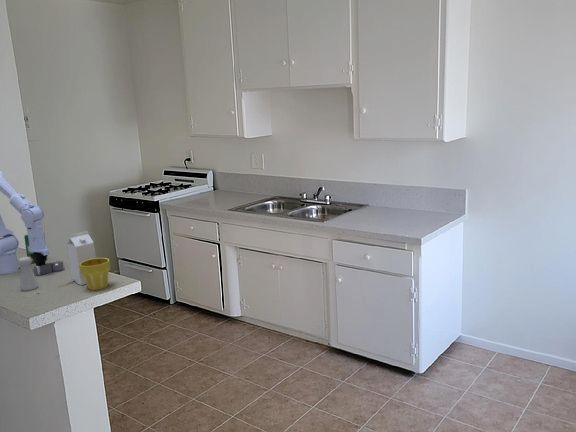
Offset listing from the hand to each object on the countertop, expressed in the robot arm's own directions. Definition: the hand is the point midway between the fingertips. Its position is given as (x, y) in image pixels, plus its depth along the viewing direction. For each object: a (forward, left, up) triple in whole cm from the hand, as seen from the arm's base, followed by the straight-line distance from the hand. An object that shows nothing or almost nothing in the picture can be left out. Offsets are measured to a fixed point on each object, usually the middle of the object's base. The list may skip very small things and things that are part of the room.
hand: (41, 270), depth 216 cm
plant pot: (+35, +5, -2) cm, 36 cm away
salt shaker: (+17, -12, -2) cm, 21 cm away
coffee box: (-21, +7, -2) cm, 22 cm away
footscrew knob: (+3, +2, -1) cm, 4 cm away
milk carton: (+24, +6, -2) cm, 25 cm away
